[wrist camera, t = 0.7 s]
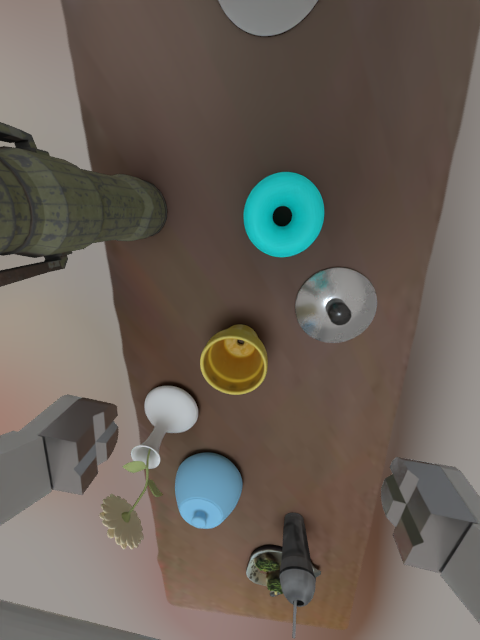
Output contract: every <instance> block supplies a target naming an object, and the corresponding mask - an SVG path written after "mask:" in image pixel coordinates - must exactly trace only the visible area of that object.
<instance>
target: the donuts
mask: <svg viewBox="0 0 480 640" xmlns="http://www.w3.org/2000/svg"><path fill="white" fill-rule="evenodd" d="M280 206H286V207H288V208H289V209H290V210H291V212H292V219H291V221H290V223H289V224H288V225H286V226H283V227H281V226H278V225H276V224H275V223H274V221H273V212H274V211H275V209H276V208H278V207H280ZM323 221H324V204H323V200H322V197H321V194H320V192H319V190H318V189H317V187H316V186H315V185H314V184H313V183H312V182H311V181H310V180H309V179H307V178H306V177H304V176H302V175H300V174H297V173H293V172H279V173H275V174H272V175H270V176H268V177H266V178H264V179H263V180H261V181H260V182H259V183H258V184H257V185H256V186H255V187H254V188H253V190H252V191H251V193H250V194H249V196H248V198H247V201H246V204H245V208H244V226H245V230H246V233H247V235H248V237H249V239H250V240H251V242H252V243H253V244H254V245H255V246H256V247H257V248H258V249H259V250H260V251H262V252H264V253H265V254H268V255H270V256H274V257H289V256H293V255H296V254H298V253H300V252H302V251H304V250H305V249H307V248H308V247H309V246H310V245H311V244H312V243H313V242H314V241H315V239H316V238H317V236H318V235H319V233H320V231H321V228H322V225H323Z"/></svg>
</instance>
